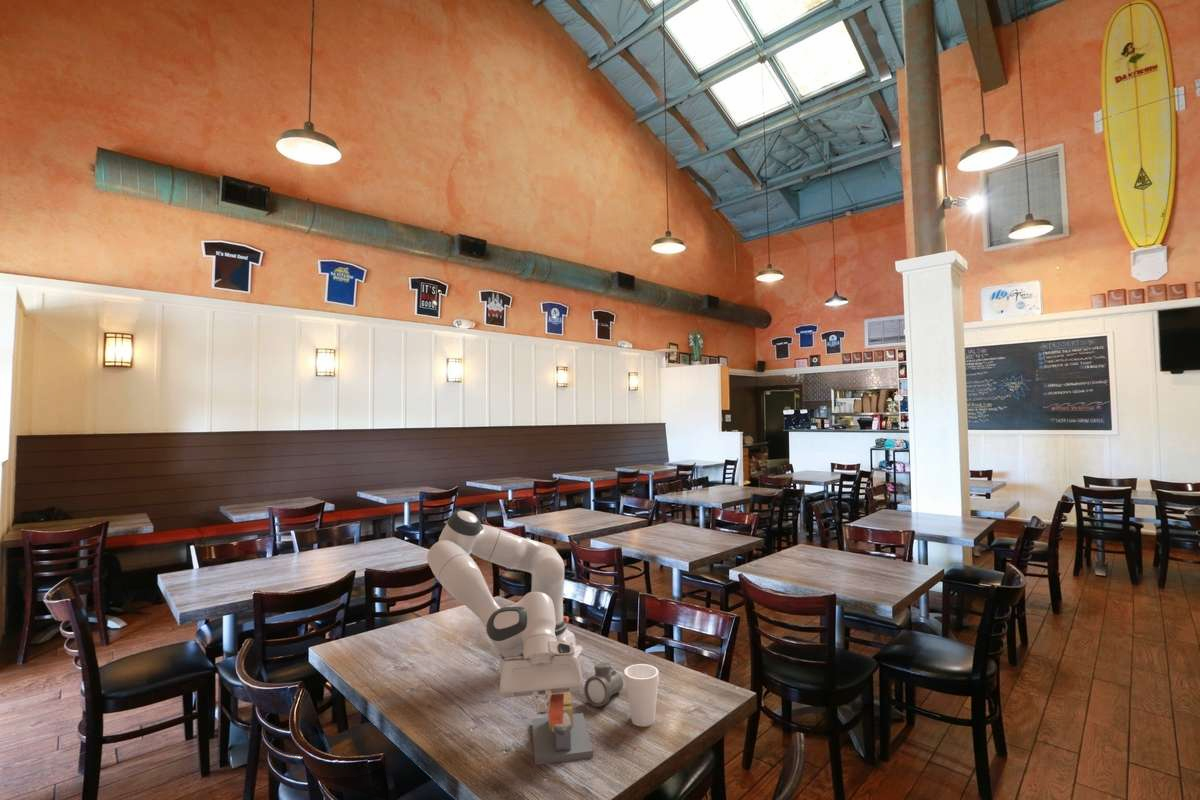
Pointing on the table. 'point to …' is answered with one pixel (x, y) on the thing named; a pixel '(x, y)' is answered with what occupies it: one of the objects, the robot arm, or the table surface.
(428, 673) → the table surface
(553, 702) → the valve lever
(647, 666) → the foam cup
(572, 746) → the slate plate
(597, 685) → the pipe fitting
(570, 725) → the pipe and valve
